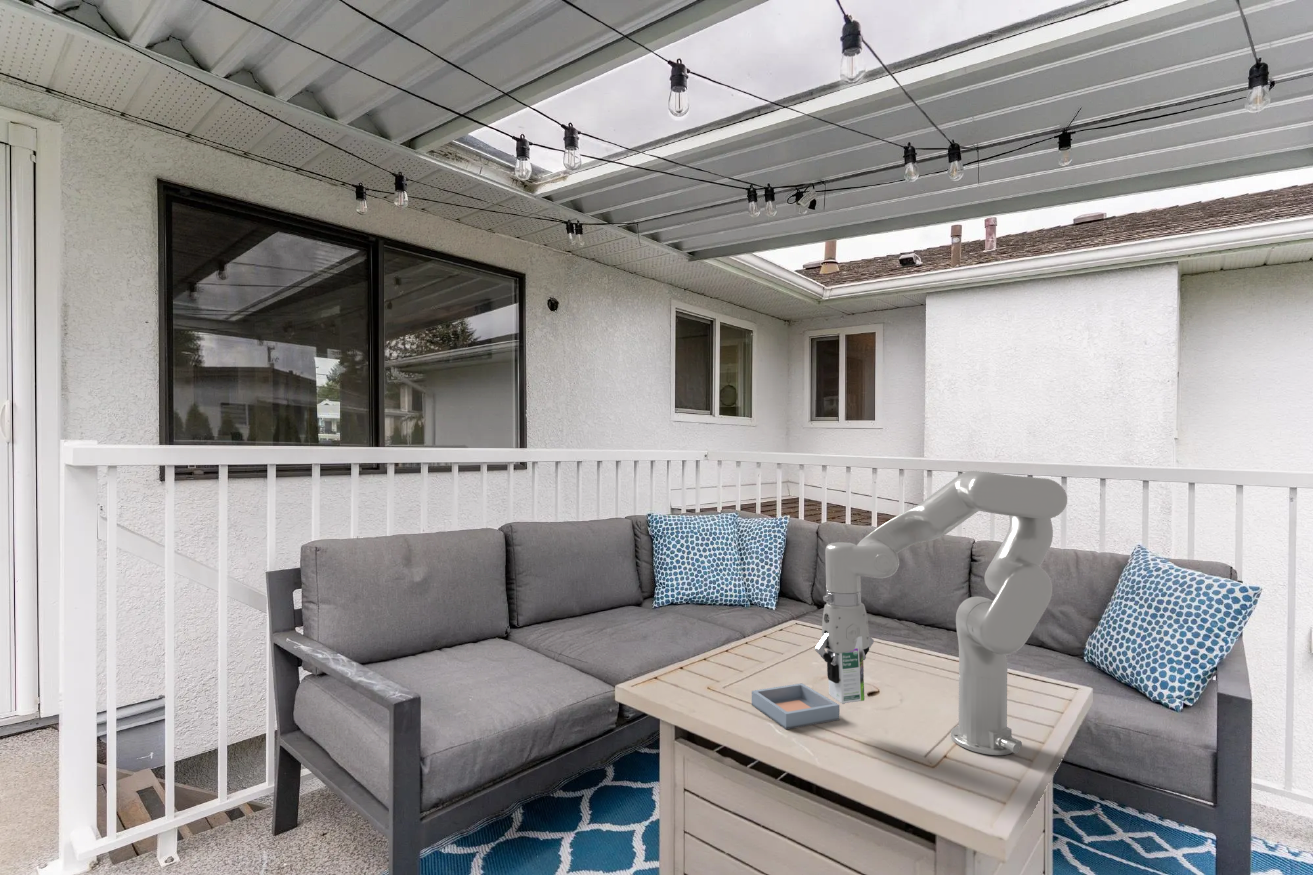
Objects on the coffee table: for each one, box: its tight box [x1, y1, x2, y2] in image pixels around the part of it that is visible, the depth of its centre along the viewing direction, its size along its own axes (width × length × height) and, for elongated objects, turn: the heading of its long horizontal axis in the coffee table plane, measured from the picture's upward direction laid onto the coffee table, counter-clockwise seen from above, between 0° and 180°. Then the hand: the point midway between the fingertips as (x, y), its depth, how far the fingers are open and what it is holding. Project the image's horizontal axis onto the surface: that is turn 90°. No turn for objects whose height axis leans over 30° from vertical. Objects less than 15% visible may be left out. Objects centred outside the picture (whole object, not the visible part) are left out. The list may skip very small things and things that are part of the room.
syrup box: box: [827, 636, 865, 705], centre depth 143 cm, size 6×6×14 cm
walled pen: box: [751, 682, 840, 730], centre depth 156 cm, size 15×15×4 cm
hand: (845, 678), depth 143 cm, fingers closed on syrup box, 6 cm apart
